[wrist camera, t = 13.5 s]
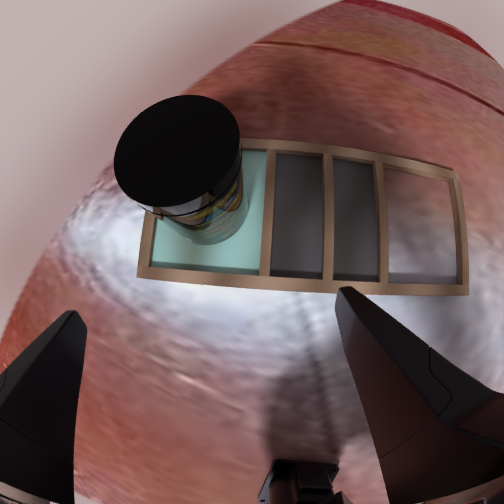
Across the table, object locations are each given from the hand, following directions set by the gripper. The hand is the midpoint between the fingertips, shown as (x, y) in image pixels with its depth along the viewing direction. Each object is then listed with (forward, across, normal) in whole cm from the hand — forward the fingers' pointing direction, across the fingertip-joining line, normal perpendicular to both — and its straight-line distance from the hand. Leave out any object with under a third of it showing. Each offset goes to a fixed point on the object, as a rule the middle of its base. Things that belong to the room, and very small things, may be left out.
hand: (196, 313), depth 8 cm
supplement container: (+15, +1, +3) cm, 16 cm away
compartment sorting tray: (+14, -9, +4) cm, 17 cm away
